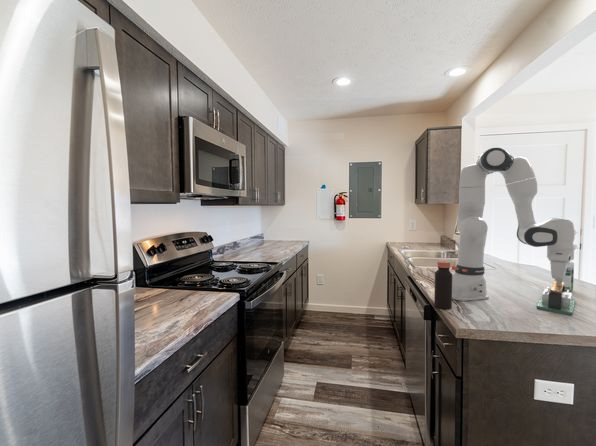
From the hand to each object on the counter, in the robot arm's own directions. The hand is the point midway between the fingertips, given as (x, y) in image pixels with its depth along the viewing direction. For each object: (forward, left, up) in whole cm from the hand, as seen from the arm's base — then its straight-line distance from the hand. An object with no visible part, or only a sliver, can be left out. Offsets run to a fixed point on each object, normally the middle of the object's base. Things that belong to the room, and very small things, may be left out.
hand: (559, 285), depth 128 cm
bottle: (-50, +18, -9) cm, 54 cm away
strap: (-3, -1, -1) cm, 3 cm away
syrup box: (+29, +11, -9) cm, 32 cm away
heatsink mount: (-3, -1, -8) cm, 9 cm away
